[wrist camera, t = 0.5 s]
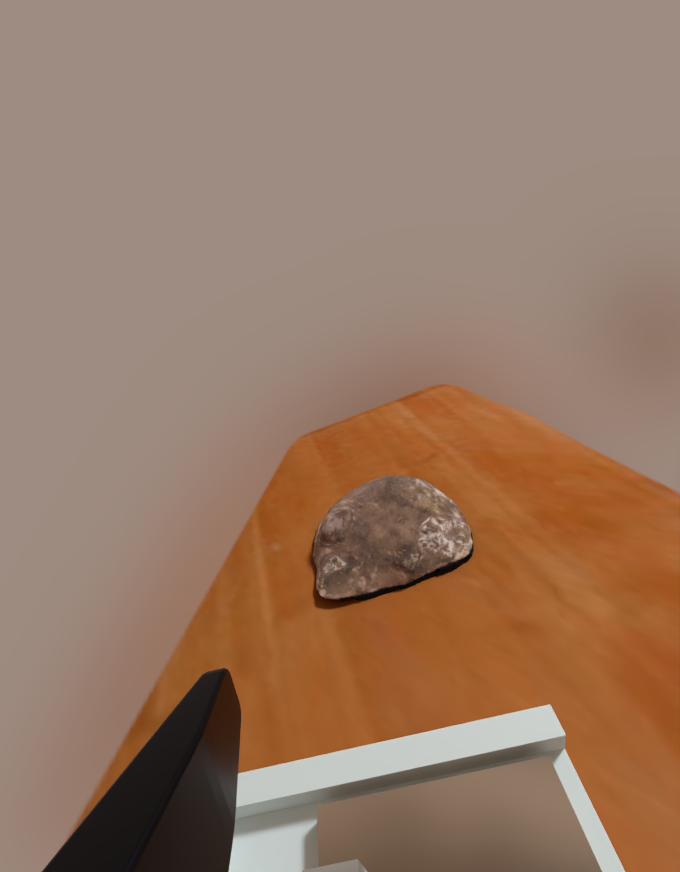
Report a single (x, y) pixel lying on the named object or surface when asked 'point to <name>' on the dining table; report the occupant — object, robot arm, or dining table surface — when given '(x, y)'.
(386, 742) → the open box
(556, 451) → the dining table surface
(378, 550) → the shell
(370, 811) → the cover plate
